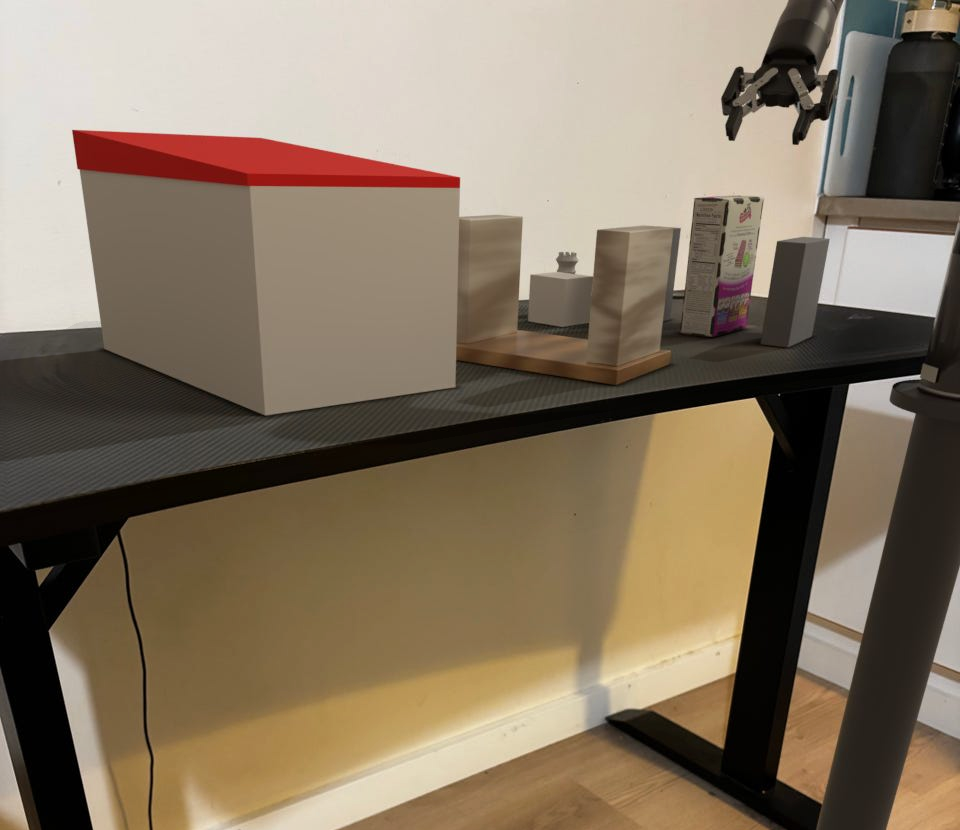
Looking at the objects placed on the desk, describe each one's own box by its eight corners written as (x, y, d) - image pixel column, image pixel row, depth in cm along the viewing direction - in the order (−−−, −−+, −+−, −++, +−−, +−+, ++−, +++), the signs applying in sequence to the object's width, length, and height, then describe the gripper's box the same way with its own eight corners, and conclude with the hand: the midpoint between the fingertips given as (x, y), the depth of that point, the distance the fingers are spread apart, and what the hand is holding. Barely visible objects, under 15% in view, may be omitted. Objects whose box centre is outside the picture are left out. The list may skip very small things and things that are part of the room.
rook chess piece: (585, 313, 139) (589, 253, 136) (560, 314, 137) (564, 254, 133) (566, 308, 143) (570, 250, 139) (542, 310, 140) (545, 251, 137)
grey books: (811, 336, 127) (829, 238, 122) (788, 347, 119) (806, 243, 113) (647, 316, 138) (657, 226, 133) (614, 325, 130) (623, 229, 124)
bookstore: (272, 332, 116) (260, 137, 107) (455, 387, 93) (461, 143, 83) (101, 348, 104) (71, 129, 94) (263, 415, 80) (244, 134, 71)
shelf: (669, 364, 107) (686, 227, 100) (616, 385, 96) (630, 233, 90) (492, 339, 117) (497, 213, 111) (426, 355, 106) (427, 217, 100)
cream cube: (562, 327, 127) (565, 279, 125) (527, 321, 131) (530, 274, 128) (589, 322, 131) (593, 276, 129) (555, 317, 135) (557, 271, 132)
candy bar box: (713, 324, 134) (730, 194, 126) (747, 329, 131) (767, 196, 124) (676, 333, 126) (693, 195, 118) (711, 338, 123) (730, 197, 116)
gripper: (746, 15, 129) (706, 112, 126) (855, 16, 123) (817, 117, 120) (749, 63, 136) (712, 156, 133) (853, 66, 130) (817, 163, 127)
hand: (762, 138), depth 126 cm, fingers open, 8 cm apart
